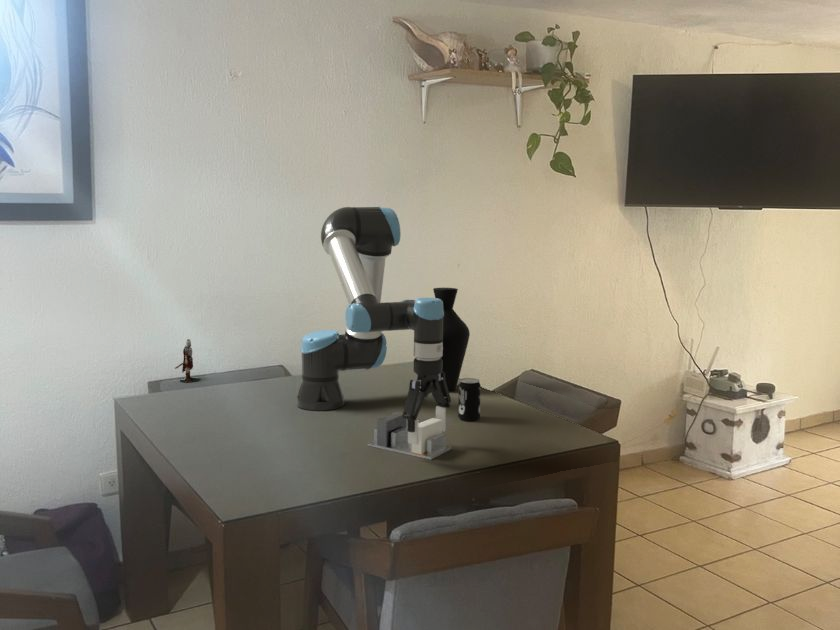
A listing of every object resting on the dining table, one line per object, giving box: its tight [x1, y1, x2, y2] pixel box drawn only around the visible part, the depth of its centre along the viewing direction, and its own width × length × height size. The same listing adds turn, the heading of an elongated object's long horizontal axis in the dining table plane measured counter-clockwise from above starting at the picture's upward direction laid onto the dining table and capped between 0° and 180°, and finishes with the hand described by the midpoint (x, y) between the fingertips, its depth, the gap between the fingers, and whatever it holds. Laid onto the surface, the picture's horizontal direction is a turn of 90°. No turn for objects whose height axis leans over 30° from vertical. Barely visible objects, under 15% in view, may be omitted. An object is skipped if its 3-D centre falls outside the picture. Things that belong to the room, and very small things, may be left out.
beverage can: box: [457, 377, 482, 422], centre depth 239 cm, size 7×7×12 cm
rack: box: [367, 411, 452, 460], centre depth 212 cm, size 20×10×8 cm, turn 58°
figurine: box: [174, 339, 200, 384], centre depth 283 cm, size 7×7×15 cm
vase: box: [433, 287, 471, 393], centre depth 273 cm, size 17×17×35 cm
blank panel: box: [411, 417, 443, 454], centre depth 209 cm, size 3×10×7 cm, turn 147°
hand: (427, 437), depth 209 cm, fingers open, 13 cm apart
